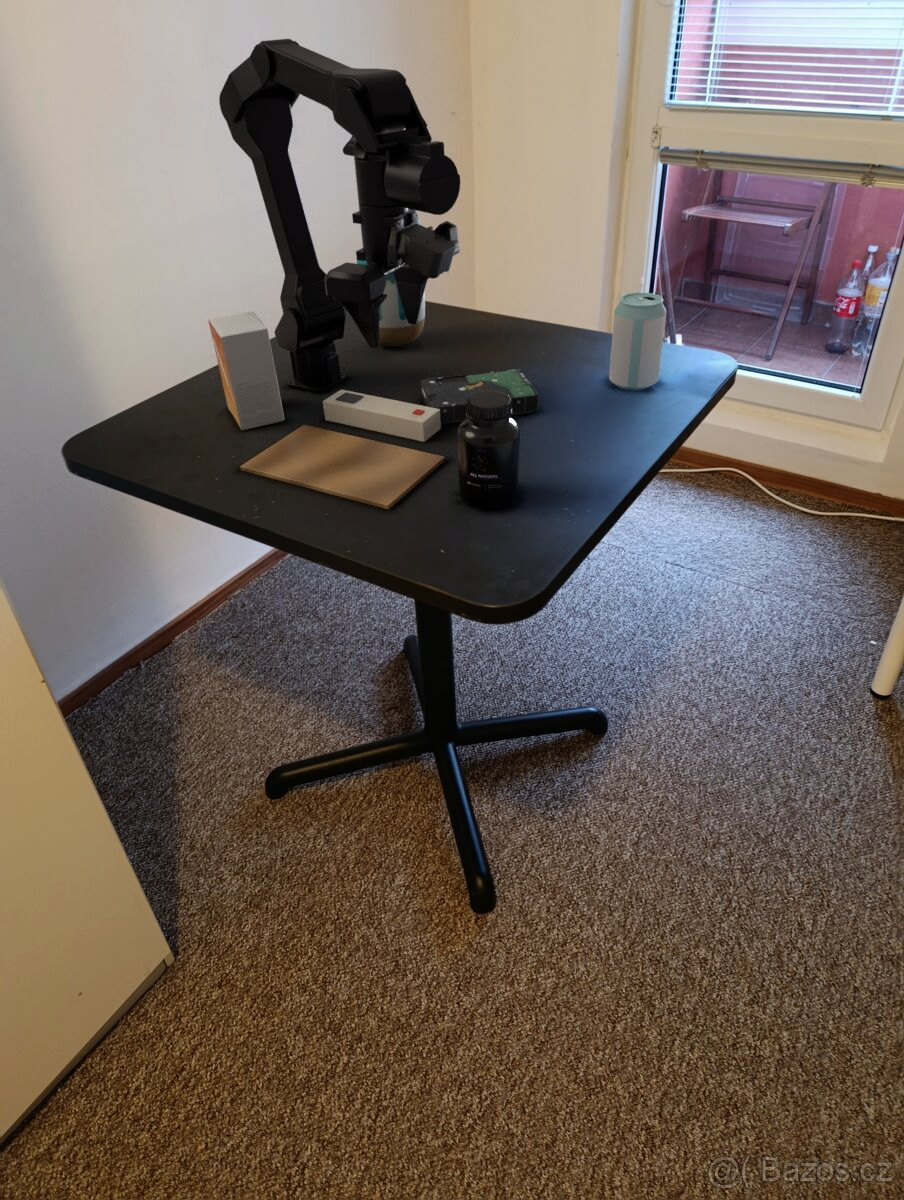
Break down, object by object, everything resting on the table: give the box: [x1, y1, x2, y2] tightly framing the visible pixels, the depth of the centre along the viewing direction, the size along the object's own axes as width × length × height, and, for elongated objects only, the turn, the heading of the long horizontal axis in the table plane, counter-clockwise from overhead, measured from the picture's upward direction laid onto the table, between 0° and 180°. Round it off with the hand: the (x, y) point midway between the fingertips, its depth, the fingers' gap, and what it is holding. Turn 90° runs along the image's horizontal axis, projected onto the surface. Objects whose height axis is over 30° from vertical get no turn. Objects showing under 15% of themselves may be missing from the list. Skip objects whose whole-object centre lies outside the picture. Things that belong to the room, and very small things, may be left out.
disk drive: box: [420, 368, 540, 425], centre depth 112 cm, size 10×3×15 cm
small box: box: [207, 311, 286, 431], centre depth 109 cm, size 8×6×13 cm
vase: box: [356, 247, 426, 347], centre depth 128 cm, size 11×11×19 cm
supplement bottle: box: [457, 391, 521, 511], centre depth 89 cm, size 7×7×12 cm
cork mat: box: [239, 424, 446, 510], centre depth 100 cm, size 22×13×1 cm, turn 61°
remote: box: [322, 389, 442, 443], centre depth 109 cm, size 16×4×3 cm, turn 61°
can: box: [608, 291, 667, 391], centre depth 113 cm, size 7×7×12 cm
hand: (393, 335), depth 102 cm, fingers open, 9 cm apart
